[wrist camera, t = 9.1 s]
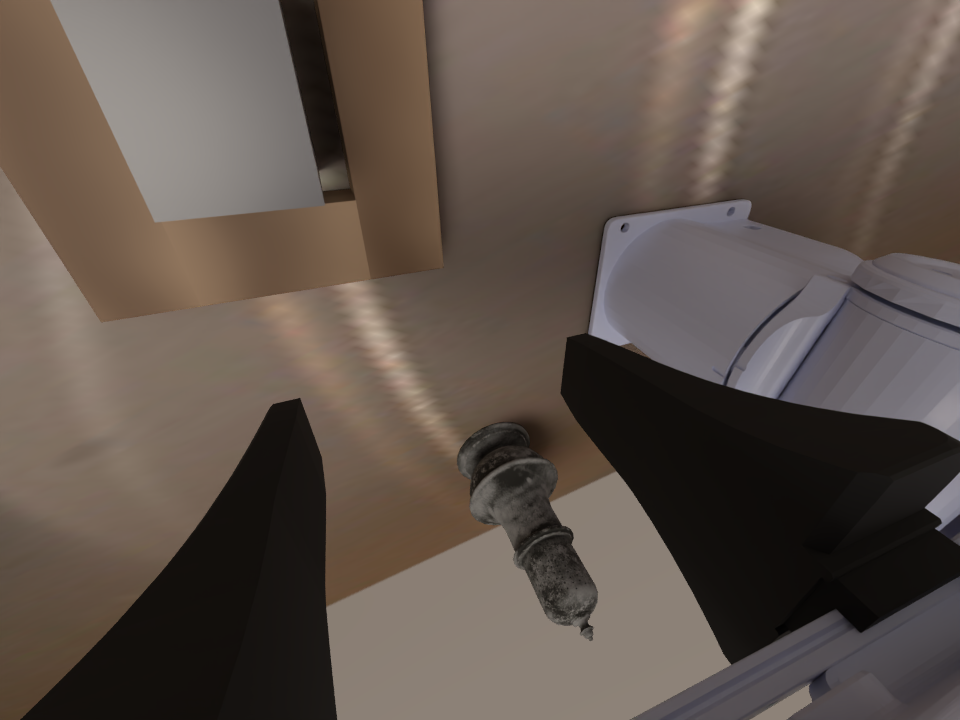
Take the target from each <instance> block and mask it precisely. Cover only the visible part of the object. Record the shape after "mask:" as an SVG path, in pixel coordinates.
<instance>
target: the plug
mask: <svg viewBox="0 0 960 720" xmlns="http://www.w3.org/2000/svg"><path fill="white" fill-rule="evenodd" d="M50 1H51V3H52V5H53V7H54V10H55V12H56V14H57V16H58V18H59V20H60V22H61V24H62V27H63V29H64V31H65V33H66V35H67V37H68V39H69V41H70V44H71V46H72V48H73V50H74V52H75V54H76V56H77V58H78V60H79V63H80V65H81V67H82V69H83V71H84V73H85V75H86V77H87V80H88V82H89V84H90V86H91V88H92V90H93V92H94V94H95V97H96V99H97V101H98V103H99V105H100V107H101V109H102V111H103V113H104V116H105V118H106V120H107V122H108V124H109V126H110V128H111V130H112V133H113V135H114V137H115V139H116V141H117V143H118V145H119V147H120V150H121V152H122V154H123V156H124V158H125V160H126V162H127V164H128V166H129V169H130V171H131V173H132V175H133V177H134V179H135V181H136V183H137V186H138V188H139V190H140V192H141V194H142V196H143V198H144V200H145V202H146V205H147V207H148V209H149V211H150V213H151V215H152V217H153V219H154V222H155V223H156V222H166V221H176V220H186V219H196V218H206V217H216V216H226V215H236V214H246V213H256V212H266V211H276V210H286V209H296V208H306V207H316V206H325V202H324V197H323V191H322V186H321V181H320V175H319V170H318V165H317V161H316V157H315V152H314V148H313V143H312V139H311V134H310V130H309V126H308V121H307V117H306V112H305V108H304V103H303V99H302V95H301V90H300V86H299V81H298V77H297V72H296V68H295V63H294V59H293V55H292V50H291V46H290V41H289V37H288V32H287V28H286V24H285V19H284V15H283V10H282V6H281V1H280V0H50Z"/></svg>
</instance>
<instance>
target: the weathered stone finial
mask: <svg viewBox="0 0 960 720" xmlns="http://www.w3.org/2000/svg"><path fill="white" fill-rule="evenodd" d="M529 444H530V439H529V435H528V433H527V432H526V430H525V429H524V428H523V427H522V426H520V425H518V424H515V423H510V422H502V423H496V424H492V425H490V426H487V427H484V428H482V429H481V430H479V431H478V432H476V433H474V434H473V435H472V436H471V437H470V438H469V439H468V440H466V442H465V443H464V445H463V446H462V447H461V449H460V451H459V454H458V457H457V465H458V468H459V471H460V472H461V473H462V475H463V476H465V477H467V478H468V479H471V483H470V496H471V498H470V506H469V507H470V510H471V514H472V516H473V517H474V518H475V519H476V520H477V521H479V522H482V523H484V524H488V525H502V526H503V528H504V529H505V530H506V532H507V534H508V537H509V539H510V541H511V543H512V546H513V548H514V550H515V554H514V558H513V560H514V564H515V565H516V566H517V567H518V568H520V569H523V570H525V571H526V573H527V575H528V577H529V579H530V582H531V584H532V586H533V588H534V590H535V592H536V595H537V597H538V599H539V601H540V603H541V605H542V608H543V610H544V612H545V614H546V615H547V617H548V618H549V619H550V620H551V621H552V622H554V623H556V624H558V625H564V626H570V625H573V626H579V627H580V628H581V633H580V635H584V637H585V638H587V639H589V640H590V641H592V640H593V638H592V636H593V631H592V630H593V626H590V625H589V624H588V620H589V618H590V614H591V613H592V612H593V611H594V609H595V606H596V604H597V598H598V591H597V589H596V586H595V584H594V582H593V580H592V579H591V577H590V575H589V574H588V572H587V570H586V569H585V567H584V565H583V563H582V562H581V560H580V558H579V556H578V555H577V553H576V551H575V550H574V548H573V546H572V545H571V544H572V541H573V538H574V537H573V532H572V531H571V529H570V528H568V527H566V526H562V525H561V523H560V521H559V520H558V518H557V516H556V515H555V513H554V511H553V509H552V508H551V505H550V502H549V499H548V498H549V497H550V496H551V494H552V492H553V491H554V489H555V487H556V483H557V480H558V475H557V470H556V468H555V466H554V464H553V463H551V462H550V461H549V460H547V459H544V458H543V457H542V456H541V455H539V454H538V453H536V452H535V451H533V450H531V449H530V448H529Z"/></svg>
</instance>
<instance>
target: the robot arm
mask: <svg viewBox="0 0 960 720" xmlns="http://www.w3.org/2000/svg"><path fill="white" fill-rule="evenodd" d="M751 206H752V205H751V202H750V201H749V200H746V199H739V200H732V201H725V202H718V203H711V204H704V205H697V206H690V207H683V208H676V209H669V210H662V211H655V212H647V213H640V214H633V215H626V216H619V217H613V218H611V219H610V220H608V221H607V223H606V224H605V228H604V233H603V240H602V246H601V253H600V260H599V266H598V273H597V279H596V286H595V292H594V299H593V305H592V312H591V318H590V325H589V332H588V334H586V333H585V334H581V335H576V336H572V337H567V342H566V351H565V359H564V368H563V376H562V385H561V395H562V397H563V398H564V400H565V402H566V404H567V406H568V407H569V409H570V411H571V412H572V414H573V416H574V417H575V419H576V420H577V422H578V423H579V424H580V426H581V427H582V428H583V430H584V431H585V432H586V433H587V435H588V436H589V437H590V439H591V440H592V441H593V442H594V444H595V445H596V446H597V447H598V449H599V450H600V451H601V452H602V454H603V455H604V456H605V457H606V459H607V460H608V461H609V462H610V464H611V465H612V466H613V467H614V468H615V470H616V471H617V472H618V473H619V475H620V476H621V477H622V478H623V480H624V481H625V482H626V484H627V485H628V486H629V488H630V489H631V491H632V492H633V493H634V495H635V496H636V498H637V500H638V501H639V503H640V504H641V506H642V507H643V509H644V510H645V512H646V513H647V515H648V516H649V518H650V520H651V521H652V523H653V524H654V526H655V528H656V530H657V531H658V533H659V535H660V536H661V538H662V539H663V541H664V543H665V544H666V546H667V548H668V549H669V551H670V553H671V554H672V556H673V558H674V560H675V562H676V563H677V565H678V567H679V569H680V571H681V572H682V574H683V576H684V578H685V579H686V581H687V583H688V585H689V587H690V588H691V590H692V592H693V594H694V596H695V598H696V600H697V602H698V604H699V605H700V608H701V609H702V611H703V613H704V615H705V617H706V619H707V621H708V623H709V625H710V627H711V629H712V631H713V633H714V635H715V637H716V639H717V641H718V643H719V645H720V647H721V649H722V652H723V654H724V655H725V657H726V658H727V659H728V661H729V662H730V663H731V666H729V667H727V668H725V669H723V670H722V671H720V672H718V673H716V674H714V675H712V676H710V677H708V678H707V679H705V680H703V681H701V682H699V683H697V684H695V685H694V686H692V687H690V688H688V689H686V690H684V691H682V692H681V693H679V694H677V695H675V696H673V697H671V698H670V699H668V700H666V701H664V702H662V703H660V704H659V705H656V706H655V707H653V708H651V709H649V710H647V711H645V712H643V713H642V714H640V715H638V716H636V717H634V718H632V719H630V720H750V719H751V718H753V717H755V716H756V715H758V714H760V713H762V712H763V711H765V710H767V709H768V708H770V707H772V706H773V705H775V704H777V703H778V702H780V701H782V700H783V699H785V698H787V697H788V696H790V695H792V694H794V693H795V692H797V691H799V690H800V689H802V688H803V687H805V686H807V685H808V684H810V683H811V684H810V685H809V693H810V696H811V698H812V703H810V704H809V705H807V706H806V707H804V708H803V709H801V710H800V711H798V712H796V713H795V714H794V715H792V716H791V717H790V718H788V719H787V720H960V264H957V263H953V262H948V261H943V260H938V259H934V258H928V257H923V256H917V255H911V254H903V253H892V254H889V255H886V256H883V257H880V258H877V259H875V260H866V261H863V260H862V259H861V258H860V257H858V256H857V255H855V254H853V253H851V252H849V251H847V250H845V249H842V248H839V247H835V246H832V245H829V244H826V243H822V242H819V241H816V240H813V239H809V238H806V237H803V236H800V235H796V234H793V233H790V232H787V231H783V230H780V229H777V228H774V227H771V226H767V225H764V224H761V223H758V222H754V221H751V220H748V216H749V213H750V210H751ZM624 223H625V225H624V228H623V229H622V230H621V226H622V225H623V224H624ZM628 343H632V344H633V345H635V346H636V347H637V348H638V349H640V350H641V351H642V352H644V353H645V354H646V355H647V356H649V357H650V358H651V359H652V360H651V359H649V358H647V357H644V356H642V355H639V354H637V353H635V352H632V351H630V350H627V349H625V348H623V347H620V345H624V344H628ZM325 551H326V489H325V480H324V472H323V464H322V456H321V454H320V451H319V448H318V446H317V443H316V440H315V437H314V435H313V432H312V429H311V427H310V424H309V421H308V418H307V416H306V413H305V410H304V407H303V405H302V402H301V399H300V398H298V399H294V400H289V401H285V402H281V403H276V404H273V405H272V406H271V407H270V409H269V410H268V412H267V414H266V416H265V418H264V420H263V421H262V423H261V425H260V427H259V429H258V431H257V433H256V434H255V436H254V438H253V440H252V442H251V443H250V445H249V447H248V449H247V451H246V452H245V454H244V456H243V457H242V459H241V461H240V462H239V464H238V466H237V467H236V469H235V471H234V472H233V474H232V476H231V477H230V479H229V480H228V482H227V483H226V485H225V486H224V488H223V489H222V491H221V492H220V494H219V495H218V497H217V498H216V500H215V501H214V503H213V504H212V506H211V507H210V509H209V510H208V512H207V513H206V515H205V516H204V518H203V519H202V520H201V522H200V523H199V524H198V526H197V527H196V529H195V530H194V531H193V533H192V534H191V535H190V537H189V538H188V539H187V541H186V542H185V543H184V544H183V546H182V547H181V548H180V549H179V551H178V552H177V553H176V555H175V556H174V557H173V558H172V560H171V561H170V562H169V563H168V565H167V566H166V567H165V568H164V569H163V571H162V572H161V573H160V574H159V575H158V576H157V578H156V579H155V580H154V581H153V582H152V583H151V585H150V586H149V587H148V588H147V589H146V590H145V591H144V592H143V594H142V595H141V596H140V597H139V598H138V599H137V600H136V601H135V603H134V604H133V605H132V606H131V607H130V608H129V609H128V610H127V612H126V613H125V614H124V615H123V616H122V617H121V618H120V619H119V621H118V622H117V623H116V624H115V625H114V626H113V627H112V628H111V629H110V630H109V631H108V632H107V634H106V635H105V636H104V637H103V638H102V639H101V640H100V641H99V642H98V643H97V644H96V645H95V646H94V647H93V648H92V649H91V650H90V651H89V652H88V653H87V654H86V655H85V656H84V657H83V658H82V659H81V660H80V661H79V662H78V663H77V664H76V665H75V666H74V667H73V668H72V669H71V670H70V671H69V672H68V673H67V674H66V675H65V676H64V677H63V678H62V679H61V680H60V681H59V682H58V683H57V684H56V685H55V686H54V687H53V688H52V689H51V690H50V691H49V692H48V693H47V694H46V695H45V696H44V697H43V698H42V699H41V700H40V701H39V702H38V703H37V704H36V705H35V706H34V707H33V708H32V709H31V710H30V711H29V712H28V713H27V714H26V715H25V716H24V717H23V718H22V719H20V720H337V714H336V705H335V696H334V686H333V676H332V667H331V658H330V657H331V656H330V647H329V635H328V623H327V613H326V595H325Z"/></svg>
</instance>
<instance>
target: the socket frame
mask: <svg viewBox="0 0 960 720" xmlns="http://www.w3.org/2000/svg"><path fill="white" fill-rule="evenodd" d="M314 6H315V11H316V16H317V21H318V26H319V31H320V36H321V41H322V46H323V51H324V57H325V62H326V67H327V72H328V77H329V82H330V87H331V92H332V97H333V102H334V107H335V113H336V118H337V123H338V128H339V133H340V138H341V143H342V148H343V153H344V158H345V164H346V169H347V174H348V179H349V184H350V189H343V190H333V191H323V197H324V202H325V206H316V207H306V208H296V209H286V210H276V211H266V212H256V213H246V214H236V215H226V216H216V217H206V218H196V219H186V220H176V221H166V222H156V223H155V222H154V219H153V217H152V215H151V213H150V211H149V209H148V207H147V205H146V202H145V200H144V198H143V196H142V194H141V192H140V190H139V188H138V186H137V183H136V181H135V179H134V177H133V175H132V173H131V171H130V169H129V166H128V164H127V162H126V160H125V158H124V156H123V154H122V152H121V150H120V147H119V145H118V143H117V141H116V139H115V137H114V135H113V133H112V130H111V128H110V126H109V124H108V122H107V120H106V118H105V116H104V113H103V111H102V109H101V107H100V105H99V103H98V101H97V99H96V97H95V94H94V92H93V90H92V88H91V86H90V84H89V82H88V80H87V77H86V75H85V73H84V71H83V69H82V67H81V65H80V63H79V60H78V58H77V56H76V54H75V52H74V50H73V48H72V46H71V44H70V41H69V39H68V37H67V35H66V33H65V31H64V29H63V27H62V24H61V22H60V20H59V18H58V16H57V14H56V12H55V10H54V7H53V5H52V3H51V1H50V0H0V167H1V168H2V170H3V171H4V173H5V174H6V176H7V177H8V179H9V181H10V182H11V184H12V185H13V187H14V188H15V190H16V191H17V193H18V194H19V196H20V198H21V199H22V201H23V202H24V204H25V205H26V207H27V208H28V210H29V211H30V213H31V215H32V216H33V218H34V219H35V221H36V222H37V224H38V225H39V227H40V228H41V230H42V232H43V233H44V235H45V236H46V238H47V239H48V241H49V242H50V244H51V245H52V247H53V249H54V250H55V252H56V253H57V255H58V256H59V258H60V259H61V261H62V262H63V264H64V266H65V267H66V269H67V270H68V272H69V273H70V275H71V276H72V278H73V279H74V281H75V283H76V284H77V286H78V287H79V289H80V290H81V292H82V293H83V295H84V296H85V298H86V300H87V301H88V303H89V304H90V306H91V307H92V309H93V310H94V312H95V313H96V315H97V317H98V318H99V320H100V321H101V322H107V321H113V320H119V319H125V318H132V317H138V316H144V315H151V314H157V313H163V312H169V311H176V310H182V309H188V308H194V307H201V306H207V305H213V304H219V303H226V302H232V301H238V300H245V299H251V298H257V297H263V296H270V295H276V294H282V293H288V292H295V291H301V290H307V289H313V288H320V287H326V286H332V285H339V284H345V283H351V282H357V281H364V280H370V279H376V278H382V277H389V276H395V275H401V274H408V273H414V272H420V271H426V270H433V269H439V268H444V266H443V253H442V241H441V228H440V216H439V203H438V190H437V178H436V165H435V153H434V140H433V128H432V115H431V102H430V90H429V77H428V65H427V52H426V40H425V27H424V14H423V2H422V0H314Z"/></svg>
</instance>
